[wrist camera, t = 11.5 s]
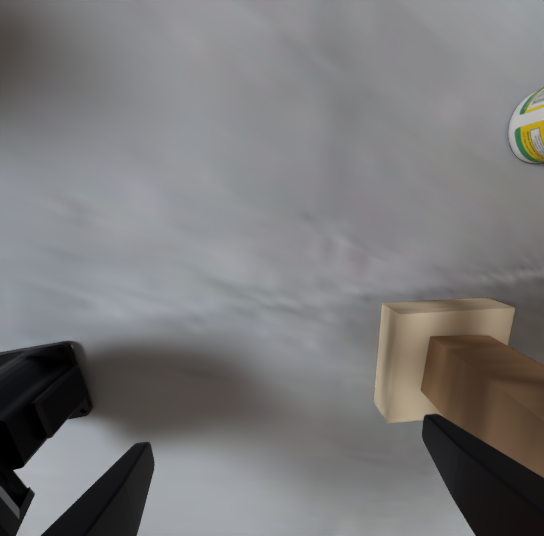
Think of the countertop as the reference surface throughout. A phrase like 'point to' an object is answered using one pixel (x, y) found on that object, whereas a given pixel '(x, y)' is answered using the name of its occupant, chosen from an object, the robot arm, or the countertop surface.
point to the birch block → (426, 347)
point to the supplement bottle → (528, 128)
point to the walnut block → (489, 394)
